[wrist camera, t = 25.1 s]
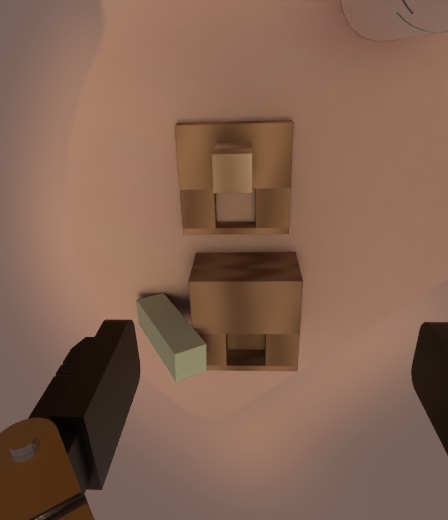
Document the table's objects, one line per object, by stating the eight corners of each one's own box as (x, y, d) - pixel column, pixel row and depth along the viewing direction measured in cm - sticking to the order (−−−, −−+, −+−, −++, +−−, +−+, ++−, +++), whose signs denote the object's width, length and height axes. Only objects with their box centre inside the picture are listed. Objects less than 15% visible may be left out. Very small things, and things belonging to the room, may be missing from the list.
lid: (291, 120, 35) (300, 131, 29) (287, 227, 40) (294, 256, 34) (177, 123, 36) (163, 134, 30) (185, 228, 40) (175, 257, 34)
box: (295, 252, 41) (302, 281, 35) (291, 334, 45) (297, 371, 40) (196, 253, 41) (188, 281, 36) (201, 333, 46) (195, 370, 40)
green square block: (206, 344, 36) (163, 292, 44) (174, 354, 34) (136, 299, 42) (206, 370, 37) (164, 316, 45) (176, 381, 36) (138, 323, 44)
